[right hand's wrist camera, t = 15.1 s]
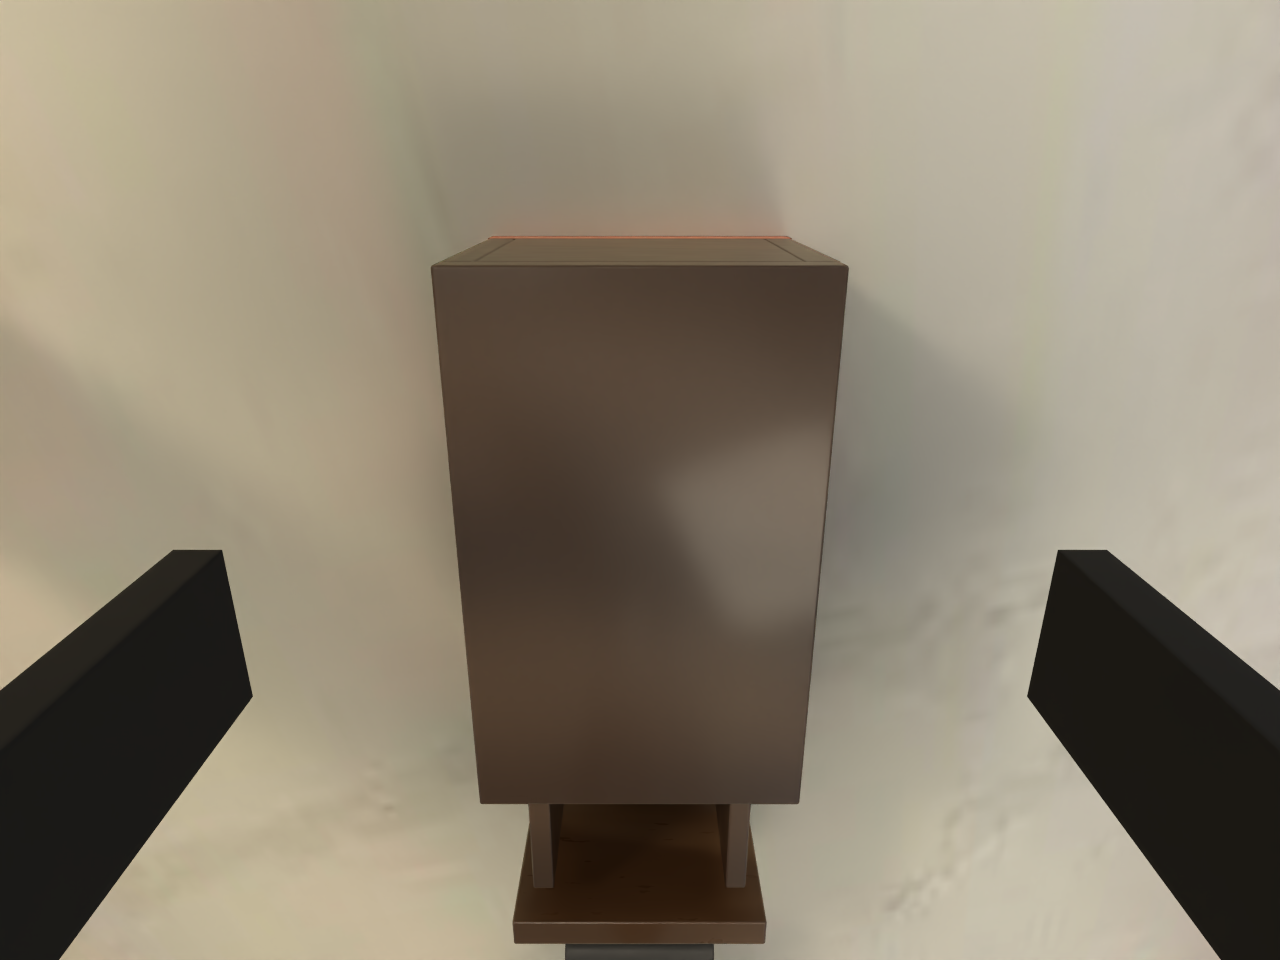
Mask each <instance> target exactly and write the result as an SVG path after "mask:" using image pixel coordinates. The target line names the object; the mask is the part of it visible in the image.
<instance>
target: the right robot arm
mask: <svg viewBox="0 0 1280 960" xmlns="http://www.w3.org/2000/svg"><path fill="white" fill-rule="evenodd" d="M252 697H253V695H252V690H251V686H250V681H249V676H248V671H247V667H246V662H245V657H244V652H243V648H242V643H241V638H240V633H239V629H238V624H237V619H236V614H235V610H234V605H233V600H232V595H231V591H230V586H229V581H228V576H227V572H226V567H225V562H224V557H223V552H222V550H173V551H171V552H170V553H169V554H168V555H166V556H165V557H164V558H163V559H161V560H160V561H159V562H158V563H157V564H155V565H154V566H153V567H152V568H150V569H149V570H148V571H147V572H145V573H144V574H143V575H142V576H141V577H139V578H138V579H137V580H136V581H134V582H133V583H132V584H131V585H130V586H128V587H127V588H126V589H125V590H123V591H122V592H121V593H120V594H118V595H117V596H116V597H115V598H114V599H112V600H111V601H110V602H109V603H107V604H106V605H105V606H104V607H102V608H101V609H100V610H99V611H98V612H96V613H95V614H94V615H93V616H91V617H90V618H89V619H88V620H86V621H85V622H84V623H83V624H82V625H80V626H79V627H78V628H77V629H75V630H74V631H73V632H72V633H70V634H69V635H68V636H67V637H66V638H64V639H63V640H62V641H61V642H59V643H58V644H57V645H56V646H54V647H53V648H52V649H51V650H50V651H48V652H47V653H46V654H45V655H43V656H42V657H41V658H40V659H38V660H37V661H36V662H35V663H34V664H32V665H31V666H30V667H29V668H27V669H26V670H25V671H24V672H23V673H21V674H20V675H19V676H18V677H16V678H15V679H14V680H13V681H11V682H10V683H9V684H8V685H7V686H5V687H4V688H3V689H2V690H0V960H59V959H60V958H61V956H62V955H63V954H64V952H65V951H66V950H67V948H68V947H69V946H70V944H71V943H72V941H73V940H74V939H75V937H76V936H77V935H78V933H79V932H80V931H81V929H82V928H83V926H84V925H85V924H86V922H87V921H88V920H89V918H90V917H91V916H92V914H93V913H94V912H95V910H96V909H97V907H98V906H99V905H100V903H101V902H102V901H103V899H104V898H105V897H106V895H107V894H108V893H109V891H110V890H111V888H112V887H113V886H114V884H115V883H116V882H117V880H118V879H119V878H120V876H121V875H122V873H123V872H124V871H125V869H126V868H127V867H128V865H129V864H130V863H131V861H132V860H133V859H134V857H135V856H136V854H137V853H138V852H139V850H140V849H141V848H142V846H143V845H144V844H145V842H146V841H147V840H148V838H149V837H150V835H151V834H152V833H153V831H154V830H155V829H156V827H157V826H158V825H159V823H160V822H161V821H162V819H163V818H164V816H165V815H166V814H167V812H168V811H169V810H170V808H171V807H172V806H173V804H174V803H175V801H176V800H177V799H178V797H179V796H180V795H181V793H182V792H183V791H184V789H185V788H186V787H187V785H188V784H189V782H190V781H191V780H192V778H193V777H194V776H195V774H196V773H197V772H198V770H199V769H200V768H201V766H202V765H203V763H204V762H205V761H206V759H207V758H208V757H209V755H210V754H211V753H212V751H213V750H214V749H215V747H216V746H217V744H218V743H219V742H220V740H221V739H222V738H223V736H224V735H225V734H226V732H227V731H228V729H229V728H230V727H231V725H232V724H233V723H234V721H235V720H236V719H237V717H238V716H239V715H240V713H241V712H242V710H243V709H244V708H245V706H246V705H247V704H248V702H249V701H250V700H251V698H252ZM1027 697H1028V698H1029V700H1030V701H1031V702H1032V704H1033V705H1034V706H1035V708H1036V709H1037V710H1038V712H1039V713H1040V715H1041V716H1042V717H1043V719H1044V720H1045V721H1046V723H1047V724H1048V725H1049V727H1050V728H1051V729H1052V731H1053V732H1054V734H1055V735H1056V736H1057V738H1058V739H1059V740H1060V742H1061V743H1062V744H1063V746H1064V747H1065V749H1066V750H1067V751H1068V753H1069V754H1070V755H1071V757H1072V758H1073V759H1074V761H1075V762H1076V763H1077V765H1078V766H1079V768H1080V769H1081V770H1082V772H1083V773H1084V774H1085V776H1086V777H1087V778H1088V780H1089V781H1090V782H1091V784H1092V785H1093V787H1094V788H1095V789H1096V791H1097V792H1098V793H1099V795H1100V796H1101V797H1102V799H1103V800H1104V801H1105V803H1106V804H1107V806H1108V807H1109V808H1110V810H1111V811H1112V812H1113V814H1114V815H1115V816H1116V818H1117V819H1118V821H1119V822H1120V823H1121V825H1122V826H1123V827H1124V829H1125V830H1126V831H1127V833H1128V834H1129V835H1130V837H1131V838H1132V840H1133V841H1134V842H1135V844H1136V845H1137V846H1138V848H1139V849H1140V850H1141V852H1142V853H1143V854H1144V856H1145V857H1146V859H1147V860H1148V861H1149V863H1150V864H1151V865H1152V867H1153V868H1154V869H1155V871H1156V872H1157V874H1158V875H1159V876H1160V878H1161V879H1162V880H1163V882H1164V883H1165V884H1166V886H1167V887H1168V888H1169V890H1170V891H1171V893H1172V894H1173V895H1174V897H1175V898H1176V899H1177V901H1178V902H1179V903H1180V905H1181V906H1182V907H1183V909H1184V910H1185V912H1186V913H1187V914H1188V916H1189V917H1190V918H1191V920H1192V921H1193V922H1194V924H1195V925H1196V926H1197V928H1198V929H1199V931H1200V932H1201V933H1202V935H1203V936H1204V937H1205V939H1206V940H1207V941H1208V943H1209V944H1210V946H1211V947H1212V948H1213V950H1214V951H1215V952H1216V954H1217V955H1218V956H1219V958H1220V959H1221V960H1280V690H1278V689H1277V688H1276V687H1275V686H1273V685H1272V684H1271V683H1270V682H1269V681H1267V680H1266V679H1265V678H1264V677H1262V676H1261V675H1260V674H1259V673H1257V672H1256V671H1255V670H1254V669H1253V668H1251V667H1250V666H1249V665H1248V664H1246V663H1245V662H1244V661H1243V660H1242V659H1240V658H1239V657H1238V656H1237V655H1235V654H1234V653H1233V652H1232V651H1230V650H1229V649H1228V648H1227V647H1226V646H1224V645H1223V644H1222V643H1221V642H1219V641H1218V640H1217V639H1216V638H1214V637H1213V636H1212V635H1211V634H1210V633H1208V632H1207V631H1206V630H1205V629H1203V628H1202V627H1201V626H1200V625H1198V624H1197V623H1196V622H1195V621H1194V620H1192V619H1191V618H1190V617H1189V616H1187V615H1186V614H1185V613H1184V612H1182V611H1181V610H1180V609H1179V608H1178V607H1176V606H1175V605H1174V604H1173V603H1171V602H1170V601H1169V600H1168V599H1166V598H1165V597H1164V596H1163V595H1162V594H1160V593H1159V592H1158V591H1157V590H1155V589H1154V588H1153V587H1152V586H1150V585H1149V584H1148V583H1147V582H1146V581H1144V580H1143V579H1142V578H1141V577H1139V576H1138V575H1137V574H1136V573H1135V572H1133V571H1132V570H1131V569H1130V568H1128V567H1127V566H1126V565H1125V564H1123V563H1122V562H1121V561H1120V560H1119V559H1117V558H1116V557H1115V556H1114V555H1112V554H1111V553H1110V552H1109V551H1107V550H1058V552H1057V557H1056V562H1055V567H1054V571H1053V576H1052V581H1051V586H1050V591H1049V595H1048V600H1047V605H1046V610H1045V614H1044V619H1043V624H1042V629H1041V633H1040V638H1039V643H1038V648H1037V652H1036V657H1035V662H1034V667H1033V671H1032V676H1031V681H1030V686H1029V690H1028V695H1027Z"/></svg>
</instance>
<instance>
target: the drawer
mask: <svg viewBox="0 0 1280 960" xmlns="http://www.w3.org/2000/svg"><path fill="white" fill-rule="evenodd" d="M528 805H529V821H530V822H529V828H528V834H527V840H526V846H525V852H524V858H523V864H522V870H521V876H520V882H519V887H518V893H517V899H516V905H515V911H514V917H513V934H514V943H515V944H566V946H565V960H714V944H764V943H765V936H766V923H767V922H766V916H765V910H764V904H763V898H762V892H761V886H760V881H759V875H758V869H757V863H756V857H755V851H754V845H753V839H752V833H751V827H750V807H751V804H528Z"/></svg>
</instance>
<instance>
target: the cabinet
mask: <svg viewBox="0 0 1280 960" xmlns="http://www.w3.org/2000/svg"><path fill="white" fill-rule="evenodd" d="M848 271H849V267H848V266H847V265H845V264H843V263H840V262H839V261H837V260H835V259H833V258H831V257H829V256H826V255H824V254H822V253H820V252H818V251H816V250H814V249H811V248H809V247H807V246H805V245H803V244H801V243H798V242H796V241H794V240H792V238H790V237H787V236H492V237H490V238H488V240H486V241H484V242H482V243H480V244H478V245H475V246H473V247H471V248H469V249H467V250H465V251H463V252H460V253H458V254H456V255H454V256H452V257H450V258H447V259H445V260H443V261H441V262H439V263H437V264H434V265H432V266H431V275H432V286H433V297H434V308H435V319H436V329H437V340H438V351H439V362H440V373H441V384H442V395H443V405H444V416H445V427H446V438H447V449H448V460H449V471H450V482H451V492H452V503H453V514H454V525H455V536H456V547H457V558H458V568H459V579H460V590H461V601H462V612H463V623H464V634H465V644H466V655H467V666H468V677H469V688H470V699H471V710H472V720H473V731H474V742H475V753H476V764H477V775H478V786H479V796H480V803H481V804H798V803H799V799H800V788H801V777H802V767H803V756H804V745H805V734H806V724H807V713H808V702H809V691H810V680H811V670H812V659H813V648H814V637H815V627H816V616H817V605H818V594H819V584H820V573H821V562H822V551H823V540H824V530H825V519H826V508H827V497H828V487H829V476H830V465H831V454H832V444H833V433H834V422H835V411H836V400H837V390H838V379H839V368H840V357H841V347H842V336H843V325H844V314H845V304H846V293H847V282H848Z"/></svg>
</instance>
